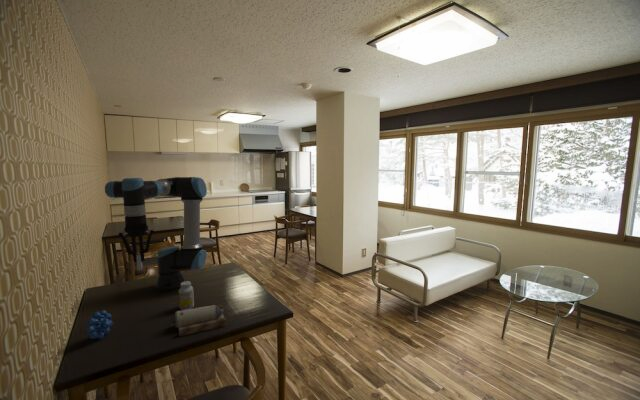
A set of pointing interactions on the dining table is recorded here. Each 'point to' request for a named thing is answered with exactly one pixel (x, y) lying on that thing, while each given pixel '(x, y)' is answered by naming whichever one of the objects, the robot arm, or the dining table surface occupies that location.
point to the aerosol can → (197, 315)
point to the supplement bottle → (186, 296)
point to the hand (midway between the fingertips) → (139, 268)
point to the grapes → (99, 324)
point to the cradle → (203, 325)
